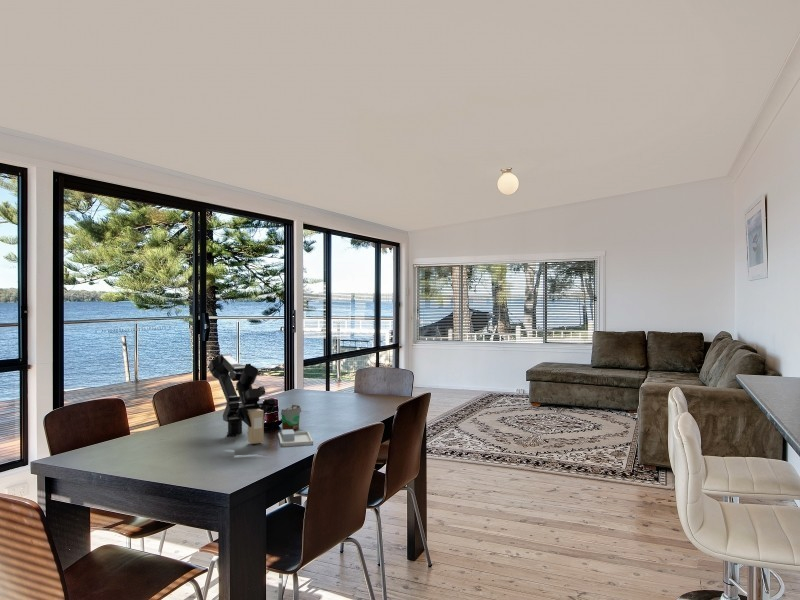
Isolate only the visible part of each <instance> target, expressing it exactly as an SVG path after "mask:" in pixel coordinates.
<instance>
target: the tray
mask: <svg viewBox="0 0 800 600" xmlns="http://www.w3.org/2000/svg"><path fill="white" fill-rule="evenodd" d="M294 434H295V440H289V441H283V440H282V432H278V434H277V437H278V441H279V445H280V448H282V447H297V446H298V447H299V446H312V445H314V440H313V438H312V436H311V434H310V432H309V430H302V431H298V430H297V431H294Z"/></svg>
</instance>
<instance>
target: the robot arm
mask: <svg viewBox="0 0 800 600" xmlns="http://www.w3.org/2000/svg"><path fill="white" fill-rule="evenodd" d="M208 371H209V372H210V373H211V376H212V377H213V378H215V379H217V380H218V382H219V385H220V388H221V390H222V393H223V396H224V398H225V401H226V405H225V408H224V411H223V413H222V420H223V421H224V422H226V423H227V432H226V437H228V438H229V437H236V436H238V435H241V434H243V423H244V424H246V425H247V427H248V426H249V427H251V421H250V419H249V416H248V410H253V409H261V410H263V411H264V416H265V414H266V413H271V412H273V411H274V409H275V407H276V405H277V401H276V399H275V398H265V399H264V400H263V402H262V403H259V402H260V397H262V396H264V395H265V394H266V389H265V386H259V387H256V388H255V387H254V388H253V385H254V384H255V381H256V379H257V376H258V374H259V369H258V368H257V366H254V365H252V363H245V364H240V363H239V362H238V361H237V360H236V359H235V358H234V357H233V355H232V354H231V353H221V354H219V355H218V356H217V357H216V358H215V357H214V358H213V359H211V362H210V363H209V365H208ZM233 382H236V385H235V387H234V383H233ZM237 393H238V394H237Z"/></svg>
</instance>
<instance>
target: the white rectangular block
mask: <svg viewBox="0 0 800 600" xmlns="http://www.w3.org/2000/svg"><path fill="white" fill-rule="evenodd" d="M294 432H295V430H293V429H290V430H282V429H281V433H282V440H283V441H289V440H295V434H294Z"/></svg>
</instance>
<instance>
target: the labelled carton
mask: <svg viewBox="0 0 800 600" xmlns="http://www.w3.org/2000/svg"><path fill="white" fill-rule="evenodd" d="M248 416H249V419H250V421H251V427H249V426H248V425H247V442H248V443H250V444H254V445H255V444H259V443H261V444H262V443H264V441H265V440H264V439H265V438H264V437H265V436H264V435H265V433H264V431H265V430H264V425H265V415H264V411H263V410H261V409H253V410H248Z"/></svg>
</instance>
